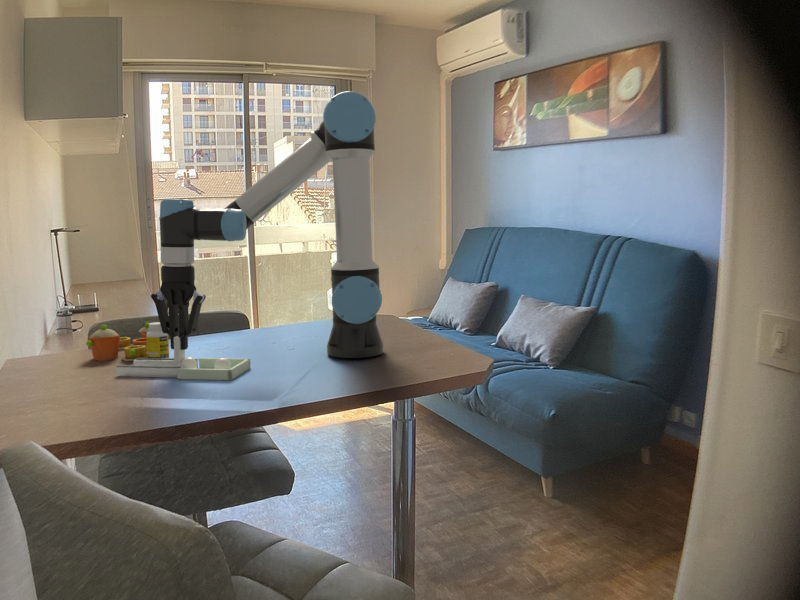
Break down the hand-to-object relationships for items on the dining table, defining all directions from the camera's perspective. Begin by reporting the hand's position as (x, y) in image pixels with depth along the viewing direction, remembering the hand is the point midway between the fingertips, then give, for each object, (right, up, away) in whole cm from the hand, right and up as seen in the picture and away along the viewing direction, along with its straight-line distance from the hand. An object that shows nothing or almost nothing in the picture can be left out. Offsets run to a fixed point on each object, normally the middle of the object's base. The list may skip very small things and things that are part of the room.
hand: (179, 362), depth 152 cm
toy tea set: (-23, 0, +25) cm, 34 cm away
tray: (+9, -3, -1) cm, 9 cm away
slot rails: (-6, -2, +1) cm, 6 cm away
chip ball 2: (+9, -2, -1) cm, 10 cm away
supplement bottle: (-11, -1, +16) cm, 19 cm away
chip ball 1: (+1, -1, 0) cm, 1 cm away
